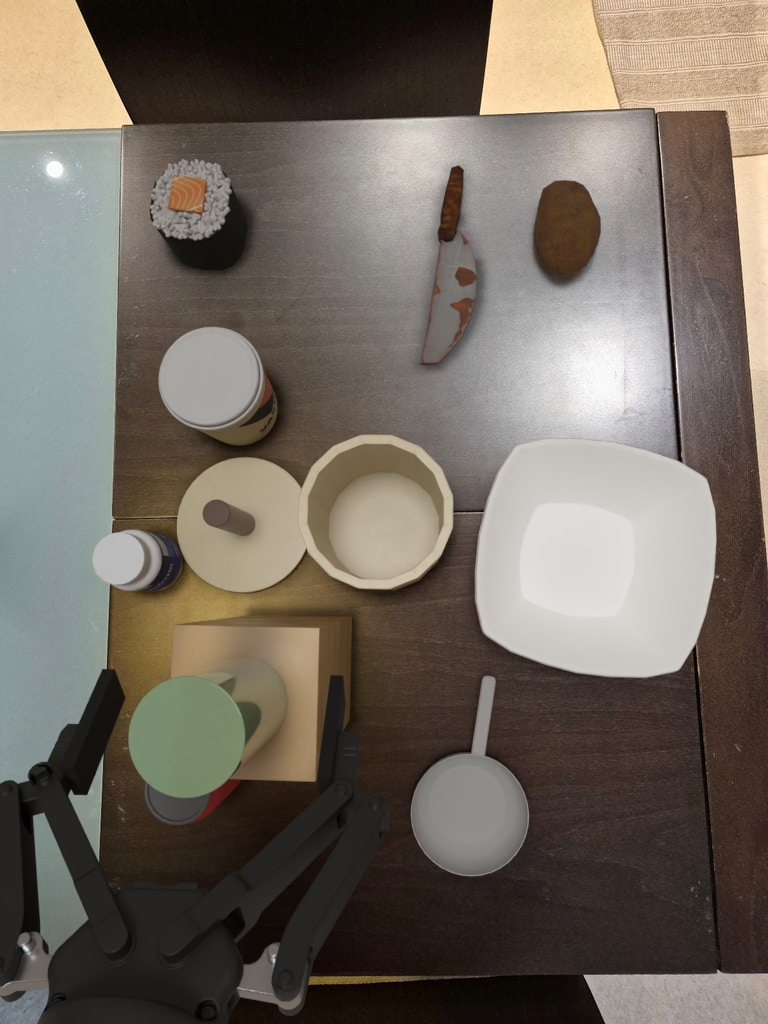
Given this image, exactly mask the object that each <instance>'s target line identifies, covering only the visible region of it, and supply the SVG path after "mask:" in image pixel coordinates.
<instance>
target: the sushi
mask: <svg viewBox="0 0 768 1024" xmlns="http://www.w3.org/2000/svg"><path fill="white" fill-rule="evenodd" d="M231 182H232V181H231V178H229V177H228V176H227V174H226V172H225V171H223V170H222V167H221V164H218V163H217V162H215V163H211V162H210V161H209V162H205V161H204V160H203V159H201V160H200V161H199V159H197V158H194V160H191V161H189V160H186V159H183V158H181V161H179V162H177V163H170V162H168V163H167V168H166V169H165V170H164V172H163V173H162V174H161V175H160V177H159V178H158V180H157V181H154V185H153V189H152V191H151V194H150V195H149V197H150V204H149V215H150V216H149V217H150V221H151V223H152V226H153V227H155V229H156V230H157V232H158V233H159V235H160V236H161V238H162V239H163V240H164V242H165V243H166V244H167V246H168V247H169V249H170V250H171V251H172V253H173V254H174V255H175V257H176V259H178V260H179V261H180V262H181V263H182V264H184V265H186V266H188V267H190V268H195V269H200V270H209V271H211V270H213V271H222V270H225V269H227V268H230V267H232V265H234V264H235V263H236V262H238V260H239V259H240V258H241V255H242V254H243V251H244V248H245V244H246V238H247V231H248V220H247V216H246V213H245V212H244V211H245V210H244V209H243V207H242V204H241V203H240V201H239V199H238V197H237V195H236V193H235V190H234V187H233V185H232V183H231Z"/></svg>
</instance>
